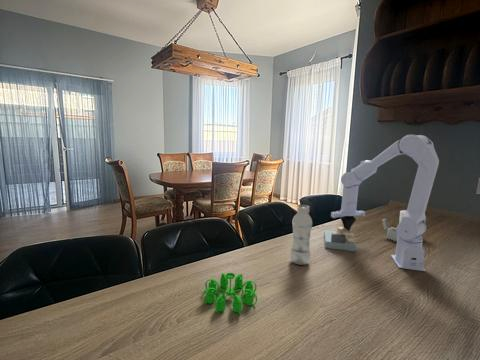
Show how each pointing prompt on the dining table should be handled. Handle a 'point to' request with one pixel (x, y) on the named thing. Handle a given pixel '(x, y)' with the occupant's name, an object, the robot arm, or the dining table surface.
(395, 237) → the lighter
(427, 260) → the dining table surface
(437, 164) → the robot arm
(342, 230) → the folding leg
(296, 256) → the plastic bottle
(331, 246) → the blue-grey block
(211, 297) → the chandelier
